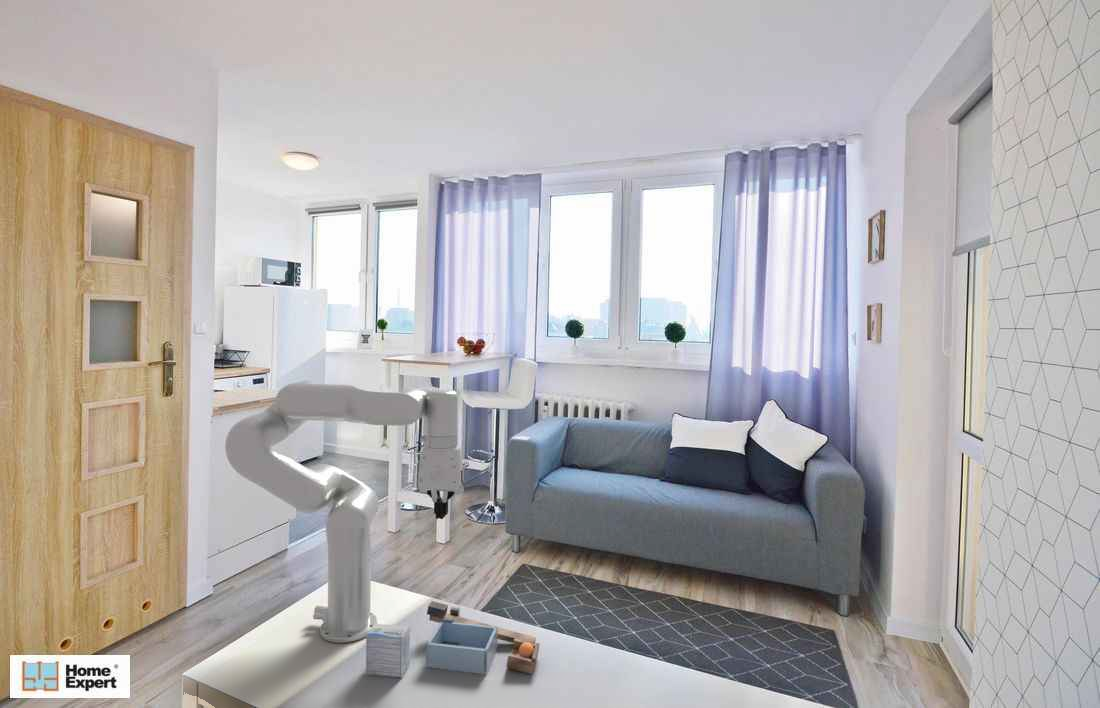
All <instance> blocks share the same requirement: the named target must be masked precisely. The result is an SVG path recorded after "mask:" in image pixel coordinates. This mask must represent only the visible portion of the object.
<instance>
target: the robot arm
mask: <svg viewBox="0 0 1100 708" xmlns="http://www.w3.org/2000/svg"><path fill="white" fill-rule="evenodd" d="M422 418H424V419H425V435H421V436H420V439H419V440H420V442H422V443H424V446H423V447H422V448H421V452H420V456H419V457H420V458H419V466H418V473H417V475H418V476H417V486H418V488H419V489H418V491H419V492H420V493H422V494H426V495H428V496H429V498H431V500H432V502H433V514H434V515H435V519H437V520H438V519H440V520H443V519H445V517H446V516H447V515H448V513H449V500H450V499H451V498H452V497H454V496H458V495H462V494H463V493H464V487H463V485H464V463H463V456H462V449H461V447H460V446H458V445H459V444H458V440H459V439H458V438H459V436H458V435H459V434H458V432H459V428H458V427H459V395H458V393H457V391H454V390H449V389H435V390H427V389H421V388H406V389H403V390H402V391H400V392H386V391H383V392H382V391H370V390H365V389H360V388H359V387H357V386H355V385H350V384H326V383H325V384H323V383H321V384H320V383H317V382H315V381H313V380H312V381H311V380H301V381H297V382H292V383H288V384H287V385H285V386H283V387H282V388H281V389H279V391H278V392H277V394H276V395H275V400H274V402H273V404H271V405H269V407H267V408H266V409H265V410H264V411H262V412H259V413H256V414H253V415H250V416H247V417H245V418H243V419H241V420H239V421H237V422H236V423H235V424H234V425H233V426H232V427H231V428H230V430H229V432H228V433H227V435H226V439H225V445H224V446H225V448H224V449H225V454H226V458H227V461H228V463H229V464H230V465H231V467H232V468H233V469H234V471H235V472H236V473H238V474H239V475H240V477H243V478H244V479H246V480H248V481H249V482H252V483H253V484H255V485H256V486H258V487H260V488H263V489H264V490H266V491H267V492H269V493H270V494H271V495H272V496H275V497H277V498H278V499H280V500H282V501H283V502H284V503H286V504H288V505H290V506H292V508H295V509H296V510H298V511H300V512H302V513H304V514H315V513H318V512H320V511H321V510H322V509H324V508H325V507H327V508H329V509H330V510H329V512H328V514H327V516H326V517H327V518H326V523H325V533H326V541H327V574H328V575H327V606H323V605H316V606H315V608H314V610H313V613H314V614H313V615H312V616H313V617H312V618H313V620H320V621H322V623H321V625H320V630H319V631H320V632H319V633H320V634H319V635H320V636H321V638H322V639H323V640H325V641H327V642H330V643H337V644H338V643H340V644H344V643H351V642H354V641H355V642H356V641H359V640H361V639H364V638H366V635H367V634H368V632H369V631H370V630H371V629H372V627H373V626H374V625H375V624H378V618H377V616H376V614H374V613H372V612H371V598H372V597H371V594H372V592H371V588H372V587H371V585H372V584H371V582H372V581H371V580H372V574H371V573H372V546H371V545H372V543H371V534H370V532H371V523H372V522H373V521H374V518H375V516H376V515H377V513H378V512H379V506H380V503H379V502H380V501H379V498H378V495H377V493H376V492H375V491H374V490H373V489H372V488H371V487H369V486H367V484H365V483H363V482H362V481H360V480H358V479H357V478H355V477H353V476H351V475H350V474H348V473H347V472H345V471H344V470H342V469H340V468H338V467H337V466H334V465H332V464H327V463H321V464H319V463H318V464H316V465H313V466H311V467H307V466H305V465H303V464H301V463H299V462H297V461H296V460H294V459H293V458H292V457H290V456H288V455H286V454H285V455H284V454H283V453H280V452H277V451H275V450H274V449H272V448H271V447H273V446H275V445H278V444H279V443H281V442H282V441H284V440H285V439H287V438H288V437H289V436H290V435H292V434H293V433H294V432H295V431H297V429H299V428H300V427H301V426H303V424H305V423H306V422H307V421H325V422H326V421H327V422H330V421H331V422H349V423H354V424H362V425H363V424H364V425H369V426H370V425H371V426H401V427H402V426H409V425H412V424H414V423H415V422H417V421H418V420H420V419H422ZM441 492H442V494H441ZM441 495H442V496H441Z"/></svg>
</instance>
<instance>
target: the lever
mask: <svg viewBox="0 0 1100 708" xmlns="http://www.w3.org/2000/svg"><path fill="white" fill-rule="evenodd" d="M448 606H449V605H448V604H445V603H441V602H438V601H433V600H431V601H430V603H429V605H427V612H426V615H429V619H428V620H429V621H430V622H431V621H432V622H434V623H438V624H440V623H441V621H444V618H445V617H447V618H453V622H456V623H465V624H475V625H484V626H493V627H496V625H491V624H487V623H484V622H480V621H478V620H477V621H476V620H472V619H469V618H465V617H462V616H460V617H458V616H455V615H451V614H450V613H448V612H447V611H448ZM497 627H498V638H497V640H501V641H504V642H508V643H512V644H513V645H512V649H511V652H510V653H508V656H507V660H506V668H509V669H512V670H515V671H519V672H522V673H527V674H530V675H533V673H534V671H535V667H536V663H537V658H538V655H539V650H540V643H538V642H536V639H537V637H535V636H532V635H528V634H524V633H521V632H516V631H514V630H510V629H505V628H502V627H499V626H497ZM525 642H528V643H530V644H532V646H533V648H534V652H533V656H532V657H531V658H530V659H528V658H524V657H521V656H520V654H519V648H520V646H521V645H522V644H523V643H525Z"/></svg>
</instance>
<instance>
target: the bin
mask: <svg viewBox="0 0 1100 708" xmlns="http://www.w3.org/2000/svg"><path fill="white" fill-rule="evenodd" d="M493 626H494V625H492V626H484V625H475V624H465V623H456V622H452V623H446V622H444V621H441V623H438V626H437V628H436V629H435V631H434V632H433V634H432V635H431V636H430V637H429V640H428V641H427V642H426V646H425V647H426V648H425V649H426V650H425V651H426V654H425V655H426V656H425V657H426V658H425V667H426V668H428V667H433V668H432V669H436V668H440V669H439V670H446V669H447V671H454V672H462V673H463V672H464V673H471V674H478V675H488V672H489V670H490V668H491V667H490V666H491V665H492V663H493V660H494V658H495V655H496V653H497V650H498V639H497V638H498V627H499V626H495V627H493ZM442 641H449V642H458V643H460V644H459V645H453V644H444V643H442Z"/></svg>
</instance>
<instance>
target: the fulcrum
mask: <svg viewBox="0 0 1100 708" xmlns="http://www.w3.org/2000/svg"><path fill="white" fill-rule="evenodd" d="M460 610H461V609H460V607H453V606H452V607H450V609H449V611H450V612H449V614H451V615H455V616H458V617H461V616H460V612H461V611H460ZM444 622H446V623H452V622H453V618H447V617H445V618H444ZM442 643H444V644H453V645H459V644H460V643H458V642H449V641H442Z"/></svg>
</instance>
